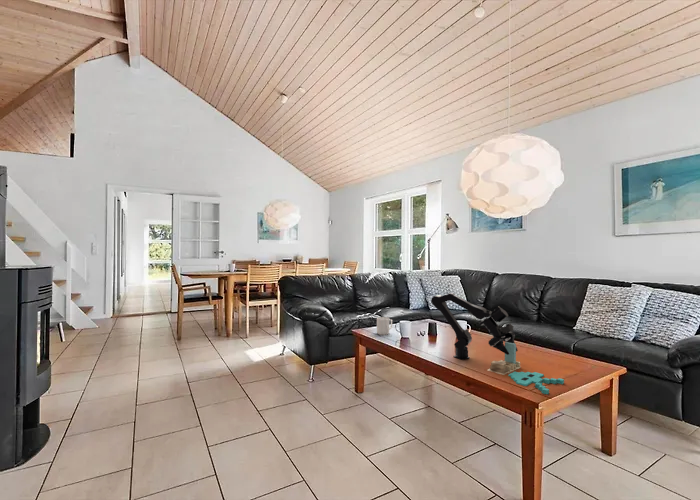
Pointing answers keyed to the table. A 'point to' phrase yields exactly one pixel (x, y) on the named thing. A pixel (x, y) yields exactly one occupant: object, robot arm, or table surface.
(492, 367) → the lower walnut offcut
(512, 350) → the teal panel
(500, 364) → the upper oak offcut
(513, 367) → the birch rack
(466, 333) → the robot arm
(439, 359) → the table surface
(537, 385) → the alien figure
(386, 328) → the mug
